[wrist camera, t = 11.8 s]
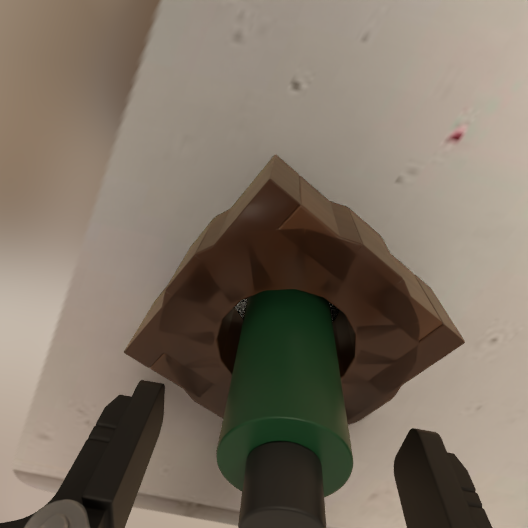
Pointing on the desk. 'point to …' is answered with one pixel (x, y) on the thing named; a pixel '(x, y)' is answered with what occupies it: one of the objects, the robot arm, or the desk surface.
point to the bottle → (285, 413)
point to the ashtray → (301, 278)
